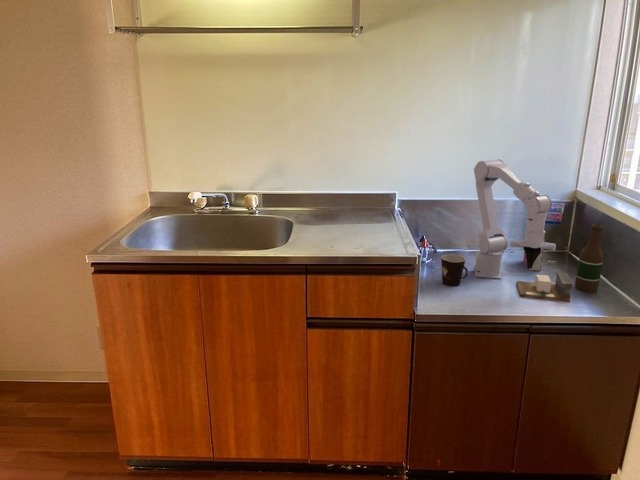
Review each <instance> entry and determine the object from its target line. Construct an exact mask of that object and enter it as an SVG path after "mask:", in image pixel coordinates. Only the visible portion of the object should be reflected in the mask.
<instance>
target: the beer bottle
mask: <svg viewBox="0 0 640 480" xmlns="http://www.w3.org/2000/svg"><path fill="white" fill-rule="evenodd" d="M590 228H591V230H590V235H589V239H588V242H587V245H586V246H585V247H584V248H582V249H581V252H580V254H579V258H578V265H577V269H576V276H575V282H574V287H575V289H576V290H579V291H581V292H584V293H594V292H595V293H596V292H597V291H599V290H598V289H599V286H600V281H601V275H602V272H603V270H602V269H603V264H604V253H603V251H602V249H601V239H602V230H603V229H604V227H603V225H602V224H598V223H593V224H592V225H591V226H590Z"/></svg>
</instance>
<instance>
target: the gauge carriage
mask: <svg viewBox="0 0 640 480" xmlns="http://www.w3.org/2000/svg"><path fill="white" fill-rule="evenodd" d="M534 283H535V287H536V289H537V291H538V292H543V293H544V295H546V293H545V292H548V293H550V288H551V287H555V286H556V281H555V282H554V281H551V279H550V276H549V275H545V274H543V275H542V274H536V275H535V281H534Z"/></svg>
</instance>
